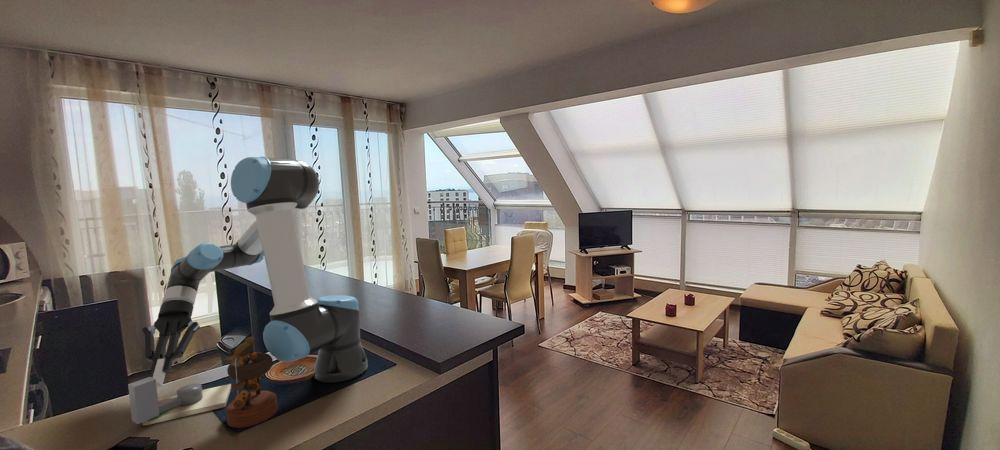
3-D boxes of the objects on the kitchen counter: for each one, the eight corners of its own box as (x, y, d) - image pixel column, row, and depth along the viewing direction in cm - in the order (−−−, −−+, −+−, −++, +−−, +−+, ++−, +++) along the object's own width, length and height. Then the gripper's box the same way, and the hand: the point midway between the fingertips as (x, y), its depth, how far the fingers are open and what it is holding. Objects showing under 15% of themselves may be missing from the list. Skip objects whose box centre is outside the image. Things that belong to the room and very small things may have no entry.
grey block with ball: (196, 393, 102) (193, 360, 101) (206, 397, 100) (203, 363, 99) (130, 420, 90) (126, 383, 89) (139, 426, 88) (135, 388, 87)
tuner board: (231, 387, 107) (230, 383, 107) (224, 409, 97) (224, 404, 97) (153, 404, 99) (152, 399, 99) (136, 429, 89) (135, 424, 89)
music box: (270, 426, 89) (255, 345, 87) (216, 439, 86) (200, 355, 84) (288, 393, 104) (276, 322, 101) (242, 403, 101) (229, 330, 99)
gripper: (208, 308, 118) (192, 385, 104) (155, 313, 114) (131, 394, 100) (200, 296, 113) (182, 375, 99) (144, 301, 108) (117, 385, 94)
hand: (156, 384), depth 99 cm, fingers closed
